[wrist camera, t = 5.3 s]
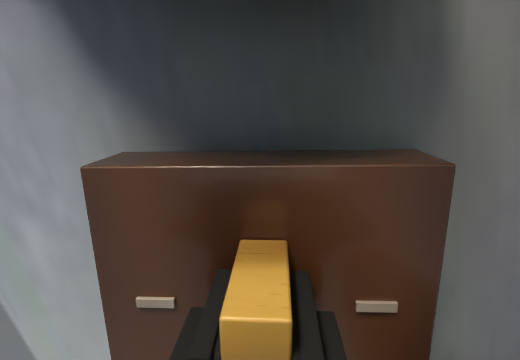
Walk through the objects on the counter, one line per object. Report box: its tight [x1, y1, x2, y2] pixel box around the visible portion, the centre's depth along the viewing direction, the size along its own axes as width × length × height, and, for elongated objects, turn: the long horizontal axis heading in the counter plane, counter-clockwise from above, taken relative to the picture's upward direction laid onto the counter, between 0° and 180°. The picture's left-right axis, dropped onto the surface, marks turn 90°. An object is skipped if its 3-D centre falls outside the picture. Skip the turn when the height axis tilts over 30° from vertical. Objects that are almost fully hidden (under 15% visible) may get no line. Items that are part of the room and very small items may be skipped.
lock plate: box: [80, 149, 455, 360], centre depth 13 cm, size 12×10×3 cm
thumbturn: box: [219, 240, 293, 360], centre depth 9 cm, size 5×2×4 cm, turn 0°
